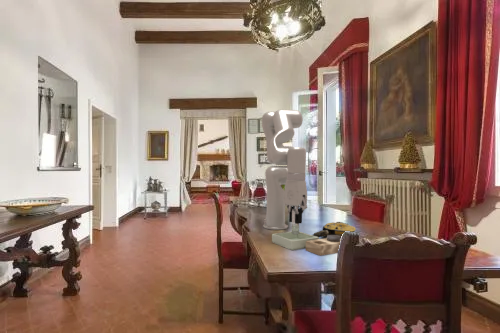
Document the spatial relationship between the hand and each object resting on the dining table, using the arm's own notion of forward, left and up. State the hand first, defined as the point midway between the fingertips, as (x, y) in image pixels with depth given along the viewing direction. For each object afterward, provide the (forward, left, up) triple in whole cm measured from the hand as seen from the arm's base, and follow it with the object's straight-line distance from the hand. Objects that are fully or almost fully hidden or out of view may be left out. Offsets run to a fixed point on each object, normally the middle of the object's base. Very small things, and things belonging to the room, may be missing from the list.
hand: (295, 222), depth 128 cm
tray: (0, 0, -9) cm, 9 cm away
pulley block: (-4, +25, -10) cm, 27 cm away
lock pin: (0, 0, -5) cm, 5 cm away
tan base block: (+13, +5, -9) cm, 16 cm away
